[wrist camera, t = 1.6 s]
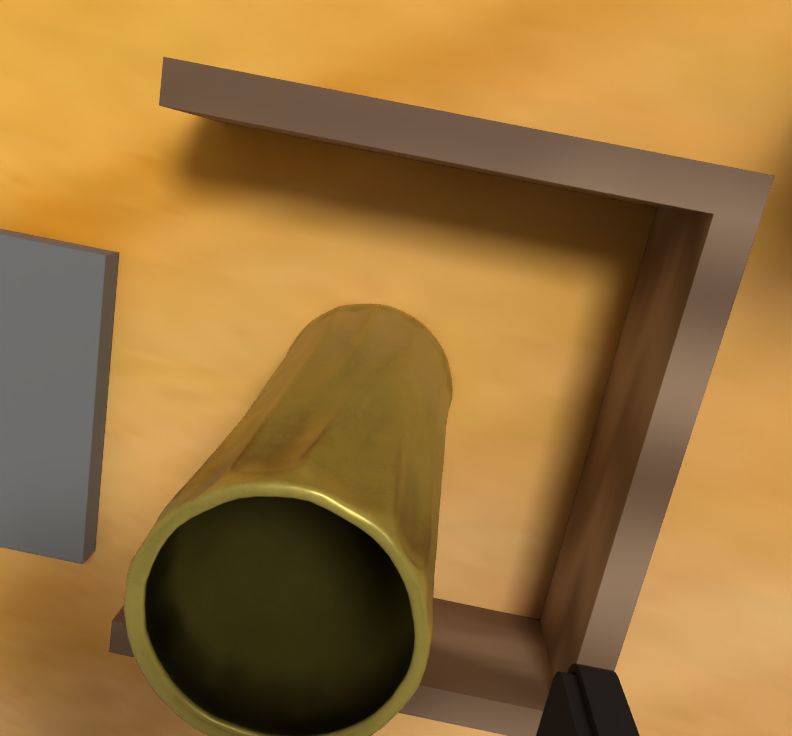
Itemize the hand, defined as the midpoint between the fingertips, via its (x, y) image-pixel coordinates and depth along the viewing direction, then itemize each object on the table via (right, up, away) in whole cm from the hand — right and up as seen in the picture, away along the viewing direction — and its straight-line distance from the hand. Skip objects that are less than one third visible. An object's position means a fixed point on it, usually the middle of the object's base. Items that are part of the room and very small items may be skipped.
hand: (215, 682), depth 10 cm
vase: (+2, +4, +16) cm, 16 cm away
